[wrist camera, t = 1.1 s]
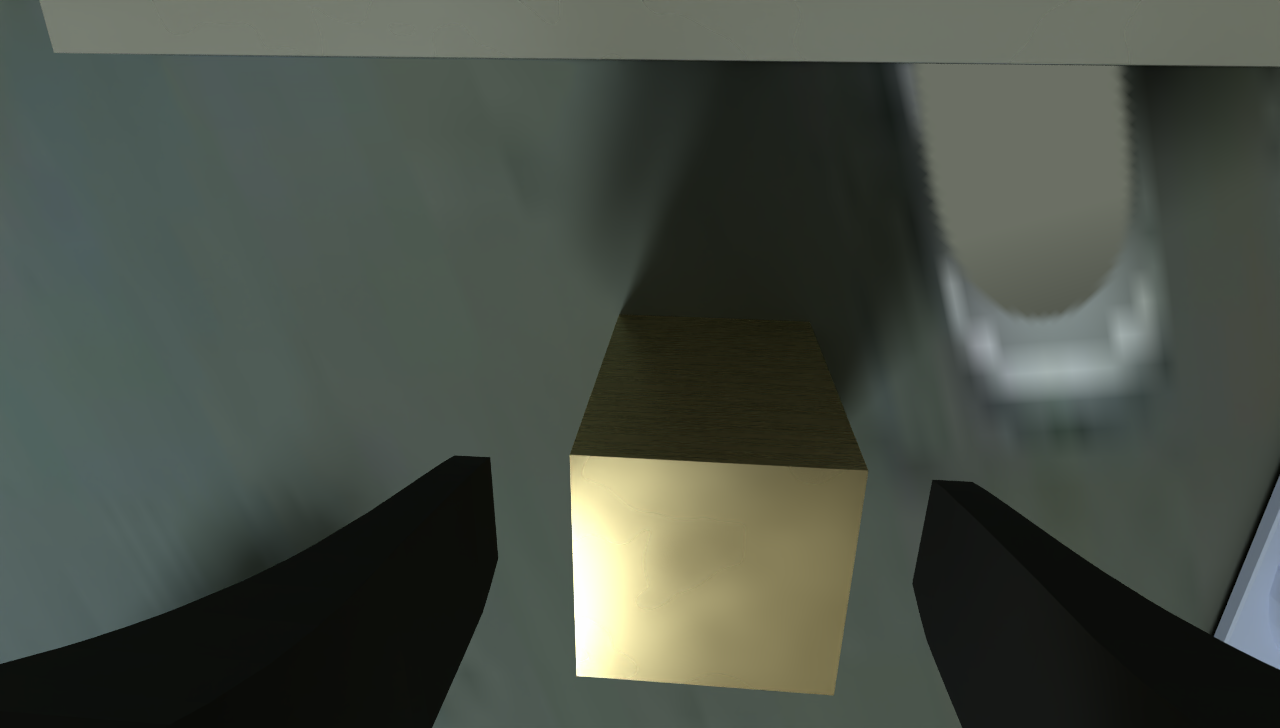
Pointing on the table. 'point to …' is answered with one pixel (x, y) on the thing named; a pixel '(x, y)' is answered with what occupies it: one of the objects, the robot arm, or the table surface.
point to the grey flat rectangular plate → (687, 30)
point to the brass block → (714, 507)
